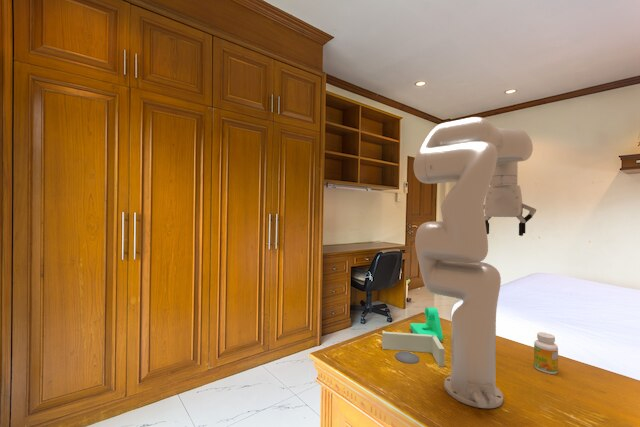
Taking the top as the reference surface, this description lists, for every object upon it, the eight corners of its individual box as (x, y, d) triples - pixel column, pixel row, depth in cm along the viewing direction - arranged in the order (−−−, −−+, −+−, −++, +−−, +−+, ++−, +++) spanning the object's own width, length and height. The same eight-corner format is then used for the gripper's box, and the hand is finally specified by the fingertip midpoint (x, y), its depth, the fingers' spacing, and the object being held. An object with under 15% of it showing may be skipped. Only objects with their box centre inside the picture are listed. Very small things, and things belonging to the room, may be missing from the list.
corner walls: (444, 366, 84) (444, 349, 84) (384, 361, 86) (384, 344, 86) (435, 351, 94) (435, 335, 94) (381, 346, 97) (382, 331, 97)
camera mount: (409, 330, 113) (409, 302, 113) (429, 330, 113) (429, 303, 113) (420, 343, 101) (420, 312, 101) (442, 343, 101) (443, 313, 101)
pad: (421, 364, 85) (421, 363, 85) (396, 362, 86) (396, 361, 86) (416, 353, 92) (417, 352, 92) (393, 351, 93) (393, 350, 93)
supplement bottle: (529, 366, 85) (529, 332, 85) (542, 363, 87) (542, 330, 87) (549, 375, 80) (549, 339, 80) (562, 372, 82) (562, 337, 82)
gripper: (471, 183, 100) (471, 234, 99) (534, 179, 88) (534, 236, 88) (477, 185, 105) (477, 233, 105) (537, 181, 93) (537, 236, 93)
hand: (503, 234), depth 96 cm, fingers open, 9 cm apart
